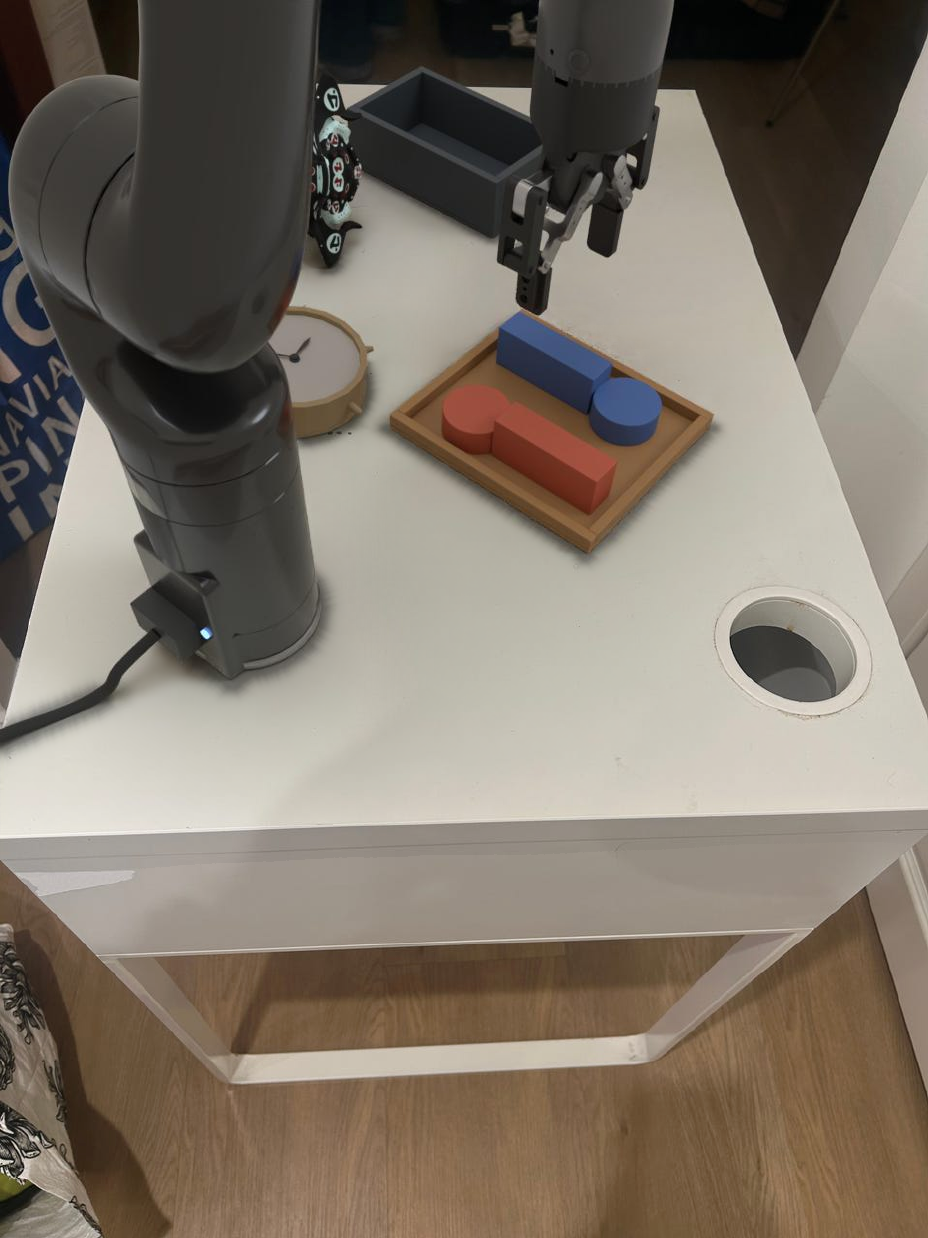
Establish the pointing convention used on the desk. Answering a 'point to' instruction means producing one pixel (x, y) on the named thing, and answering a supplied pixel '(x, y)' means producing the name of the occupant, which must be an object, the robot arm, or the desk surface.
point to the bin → (445, 145)
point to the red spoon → (527, 445)
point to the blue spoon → (579, 380)
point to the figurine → (332, 171)
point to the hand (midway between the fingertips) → (566, 279)
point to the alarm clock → (321, 368)
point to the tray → (634, 463)
